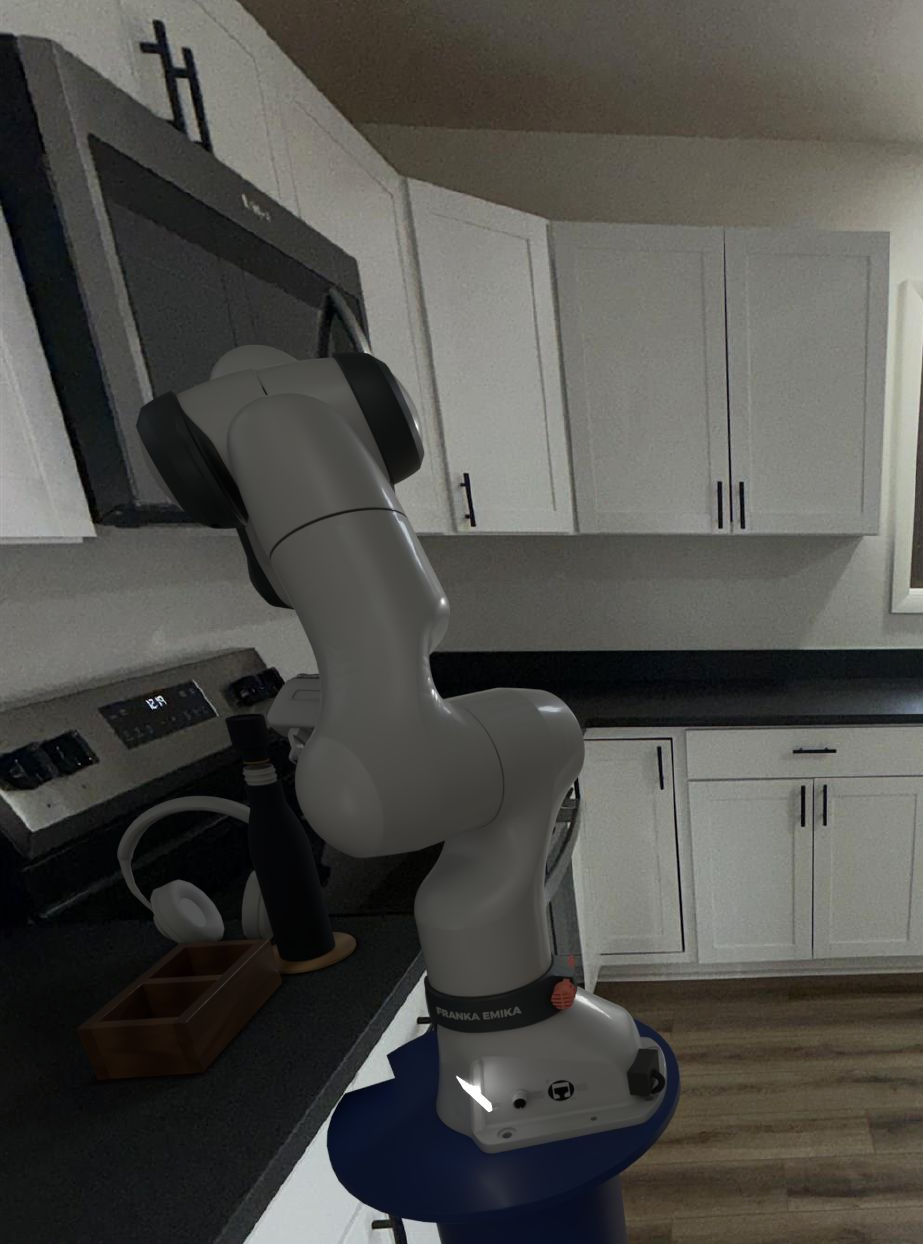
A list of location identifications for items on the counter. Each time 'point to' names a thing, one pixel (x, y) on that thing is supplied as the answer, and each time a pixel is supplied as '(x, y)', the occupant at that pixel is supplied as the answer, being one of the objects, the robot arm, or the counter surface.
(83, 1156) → the counter surface
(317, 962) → the coaster
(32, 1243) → the counter surface
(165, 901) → the headphones
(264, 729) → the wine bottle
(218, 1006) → the wooden compartment tray
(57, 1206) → the counter surface
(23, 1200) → the counter surface
